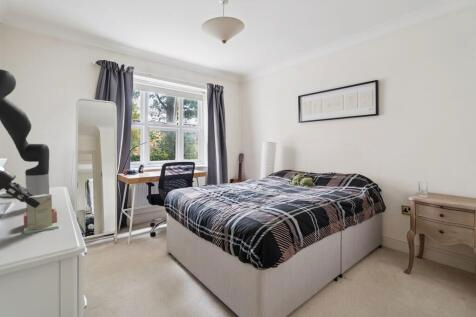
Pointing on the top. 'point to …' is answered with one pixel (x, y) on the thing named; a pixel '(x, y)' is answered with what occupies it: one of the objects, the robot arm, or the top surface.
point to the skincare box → (40, 212)
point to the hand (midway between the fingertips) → (37, 203)
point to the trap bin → (54, 218)
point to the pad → (53, 226)
